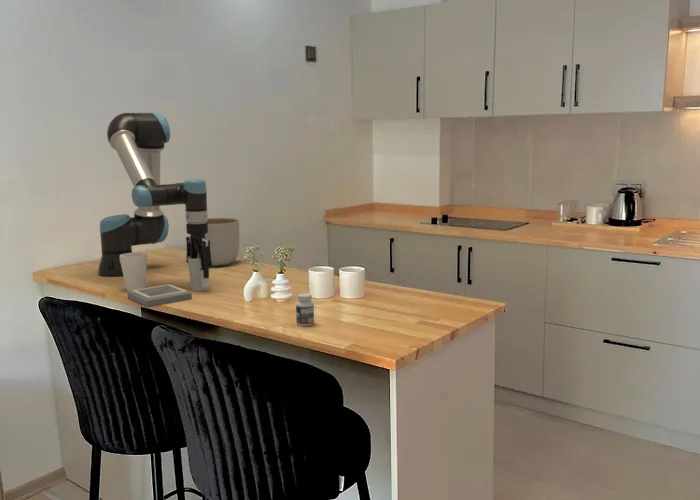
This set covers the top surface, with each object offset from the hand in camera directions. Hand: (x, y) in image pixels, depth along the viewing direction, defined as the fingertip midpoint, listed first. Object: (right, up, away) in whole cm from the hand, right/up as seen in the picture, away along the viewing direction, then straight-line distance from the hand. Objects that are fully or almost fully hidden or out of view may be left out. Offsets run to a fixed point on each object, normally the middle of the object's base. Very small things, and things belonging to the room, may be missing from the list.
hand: (200, 284), depth 237 cm
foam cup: (-23, -2, 0) cm, 24 cm away
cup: (0, -2, 0) cm, 2 cm away
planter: (-4, +6, +47) cm, 47 cm away
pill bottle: (+41, -9, -44) cm, 61 cm away
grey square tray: (-11, -4, -13) cm, 17 cm away
